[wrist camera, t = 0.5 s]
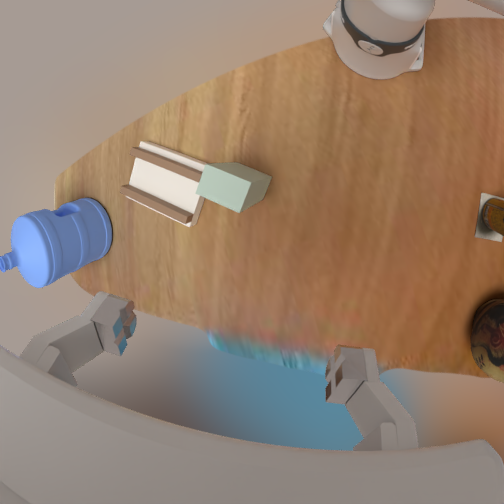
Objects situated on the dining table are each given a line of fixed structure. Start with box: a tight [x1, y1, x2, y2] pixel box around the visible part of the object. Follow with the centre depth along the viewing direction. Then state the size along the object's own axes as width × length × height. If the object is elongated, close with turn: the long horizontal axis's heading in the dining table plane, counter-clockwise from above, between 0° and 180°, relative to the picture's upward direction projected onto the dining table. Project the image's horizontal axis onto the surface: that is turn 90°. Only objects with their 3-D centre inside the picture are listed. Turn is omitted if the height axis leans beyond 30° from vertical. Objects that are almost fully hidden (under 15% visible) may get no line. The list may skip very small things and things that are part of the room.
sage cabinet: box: [195, 162, 272, 213], centre depth 47 cm, size 4×8×14 cm, turn 68°
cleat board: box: [120, 141, 208, 227], centre depth 54 cm, size 12×16×6 cm
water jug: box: [0, 198, 112, 288], centre depth 53 cm, size 16×16×28 cm
